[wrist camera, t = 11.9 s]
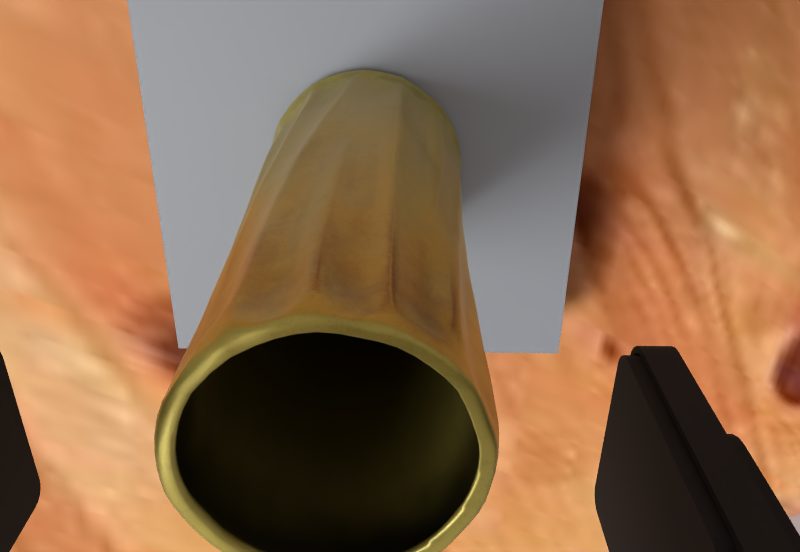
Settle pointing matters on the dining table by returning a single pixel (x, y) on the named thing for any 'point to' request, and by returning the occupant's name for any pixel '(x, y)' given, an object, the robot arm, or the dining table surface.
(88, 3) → the dining table surface
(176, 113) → the plinth
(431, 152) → the vase
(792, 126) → the dining table surface
